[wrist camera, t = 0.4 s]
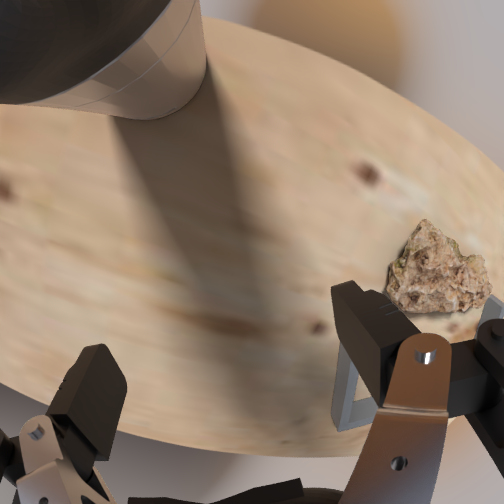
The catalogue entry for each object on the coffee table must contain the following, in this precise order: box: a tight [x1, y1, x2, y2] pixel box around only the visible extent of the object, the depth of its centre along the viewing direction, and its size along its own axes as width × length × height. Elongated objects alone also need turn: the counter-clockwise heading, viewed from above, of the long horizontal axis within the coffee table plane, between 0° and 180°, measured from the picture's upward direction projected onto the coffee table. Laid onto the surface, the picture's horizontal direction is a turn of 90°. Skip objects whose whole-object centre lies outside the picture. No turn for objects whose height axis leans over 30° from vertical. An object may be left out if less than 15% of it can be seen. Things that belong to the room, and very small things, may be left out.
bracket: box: [331, 295, 504, 432], centre depth 35 cm, size 14×25×4 cm, turn 94°
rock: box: [386, 219, 492, 313], centre depth 30 cm, size 17×5×10 cm
